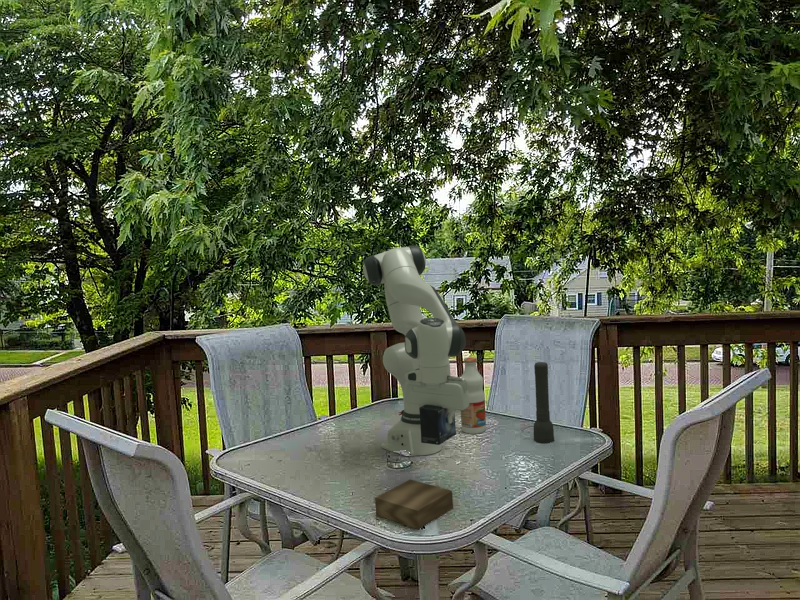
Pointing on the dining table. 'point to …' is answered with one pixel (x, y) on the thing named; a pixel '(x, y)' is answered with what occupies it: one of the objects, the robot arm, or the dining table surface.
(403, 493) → the stand
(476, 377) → the fruit juice
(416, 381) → the robot arm
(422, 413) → the small box
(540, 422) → the flashlight
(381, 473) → the dining table surface
